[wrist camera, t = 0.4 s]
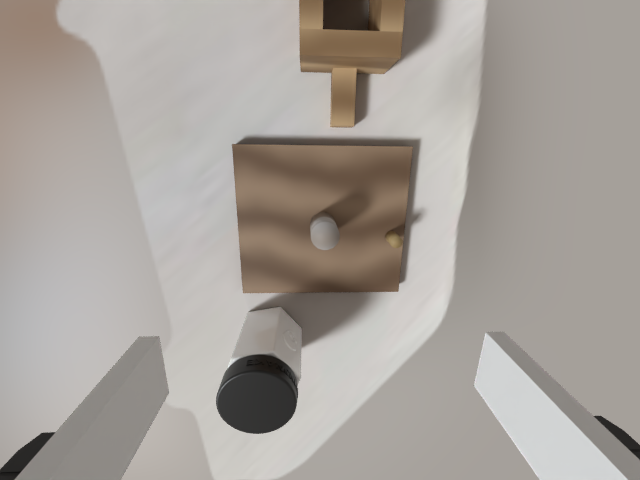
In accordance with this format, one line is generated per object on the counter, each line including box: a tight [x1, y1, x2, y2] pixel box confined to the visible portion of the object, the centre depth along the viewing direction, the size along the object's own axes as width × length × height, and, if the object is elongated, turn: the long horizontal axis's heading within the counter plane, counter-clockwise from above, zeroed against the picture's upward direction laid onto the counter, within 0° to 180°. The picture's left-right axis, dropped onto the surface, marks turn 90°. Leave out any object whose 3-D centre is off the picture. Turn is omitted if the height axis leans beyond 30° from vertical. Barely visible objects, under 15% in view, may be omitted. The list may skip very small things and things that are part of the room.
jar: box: [216, 307, 302, 434], centre depth 35 cm, size 9×8×12 cm
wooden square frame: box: [299, 0, 405, 127], centre depth 28 cm, size 14×9×6 cm, turn 179°
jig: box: [232, 144, 413, 293], centre depth 34 cm, size 18×20×6 cm
